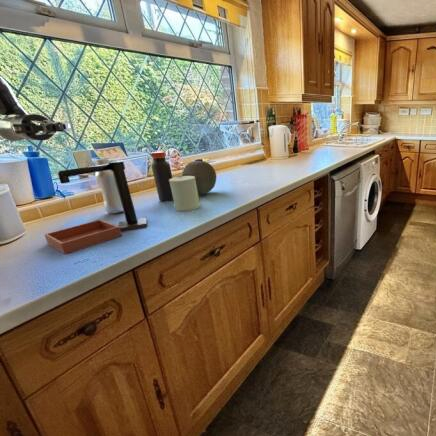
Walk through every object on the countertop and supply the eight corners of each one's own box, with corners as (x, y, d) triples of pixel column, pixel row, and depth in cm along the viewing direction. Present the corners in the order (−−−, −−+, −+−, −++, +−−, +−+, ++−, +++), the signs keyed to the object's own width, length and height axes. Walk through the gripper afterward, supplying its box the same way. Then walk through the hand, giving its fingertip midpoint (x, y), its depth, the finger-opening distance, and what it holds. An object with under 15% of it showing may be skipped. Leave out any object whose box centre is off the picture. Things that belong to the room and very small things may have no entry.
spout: (122, 171, 96) (119, 160, 95) (128, 172, 94) (125, 160, 93) (58, 182, 83) (53, 169, 82) (63, 184, 81) (58, 170, 80)
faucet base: (118, 232, 95) (101, 173, 89) (119, 225, 101) (104, 170, 94) (147, 226, 99) (132, 170, 92) (147, 220, 104) (133, 167, 98)
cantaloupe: (181, 194, 136) (174, 161, 131) (212, 189, 145) (206, 157, 140) (192, 201, 126) (185, 165, 121) (224, 194, 135) (219, 160, 130)
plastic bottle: (107, 211, 116) (92, 159, 109) (128, 208, 118) (114, 157, 112) (104, 216, 110) (88, 161, 103) (126, 213, 113) (111, 159, 106)
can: (196, 202, 124) (190, 173, 120) (203, 207, 117) (198, 176, 113) (172, 207, 118) (165, 177, 114) (178, 212, 112) (172, 180, 108)
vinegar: (157, 199, 130) (146, 152, 123) (174, 196, 134) (164, 150, 127) (161, 202, 125) (150, 153, 119) (178, 199, 129) (168, 152, 123)
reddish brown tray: (64, 254, 81) (61, 243, 80) (47, 244, 88) (44, 234, 87) (122, 235, 92) (119, 226, 91) (103, 228, 99) (100, 219, 98)
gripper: (-3, 115, 85) (15, 113, 76) (57, 113, 95) (79, 112, 86) (8, 142, 87) (26, 144, 78) (65, 138, 98) (87, 139, 89)
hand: (54, 127), depth 82 cm, fingers closed
